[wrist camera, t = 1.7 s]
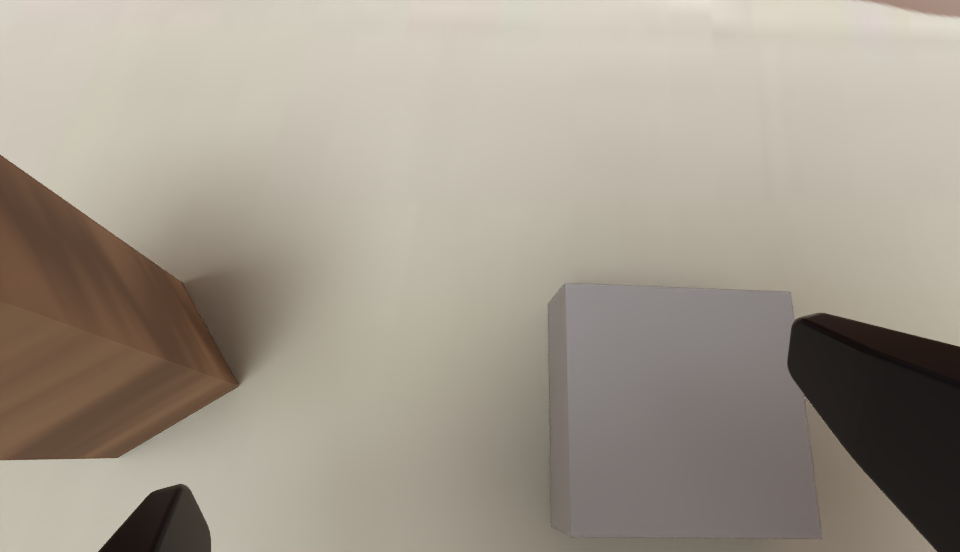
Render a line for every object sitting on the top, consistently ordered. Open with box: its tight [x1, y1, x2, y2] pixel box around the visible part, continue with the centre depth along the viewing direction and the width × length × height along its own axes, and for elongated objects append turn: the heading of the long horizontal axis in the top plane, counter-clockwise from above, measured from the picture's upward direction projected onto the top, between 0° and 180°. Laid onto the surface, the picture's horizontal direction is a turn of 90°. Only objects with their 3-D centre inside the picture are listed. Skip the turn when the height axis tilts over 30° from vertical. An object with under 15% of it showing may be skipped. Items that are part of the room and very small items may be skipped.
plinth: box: [548, 283, 822, 539], centre depth 22 cm, size 8×8×3 cm
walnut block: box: [0, 155, 239, 460], centre depth 16 cm, size 4×4×13 cm
